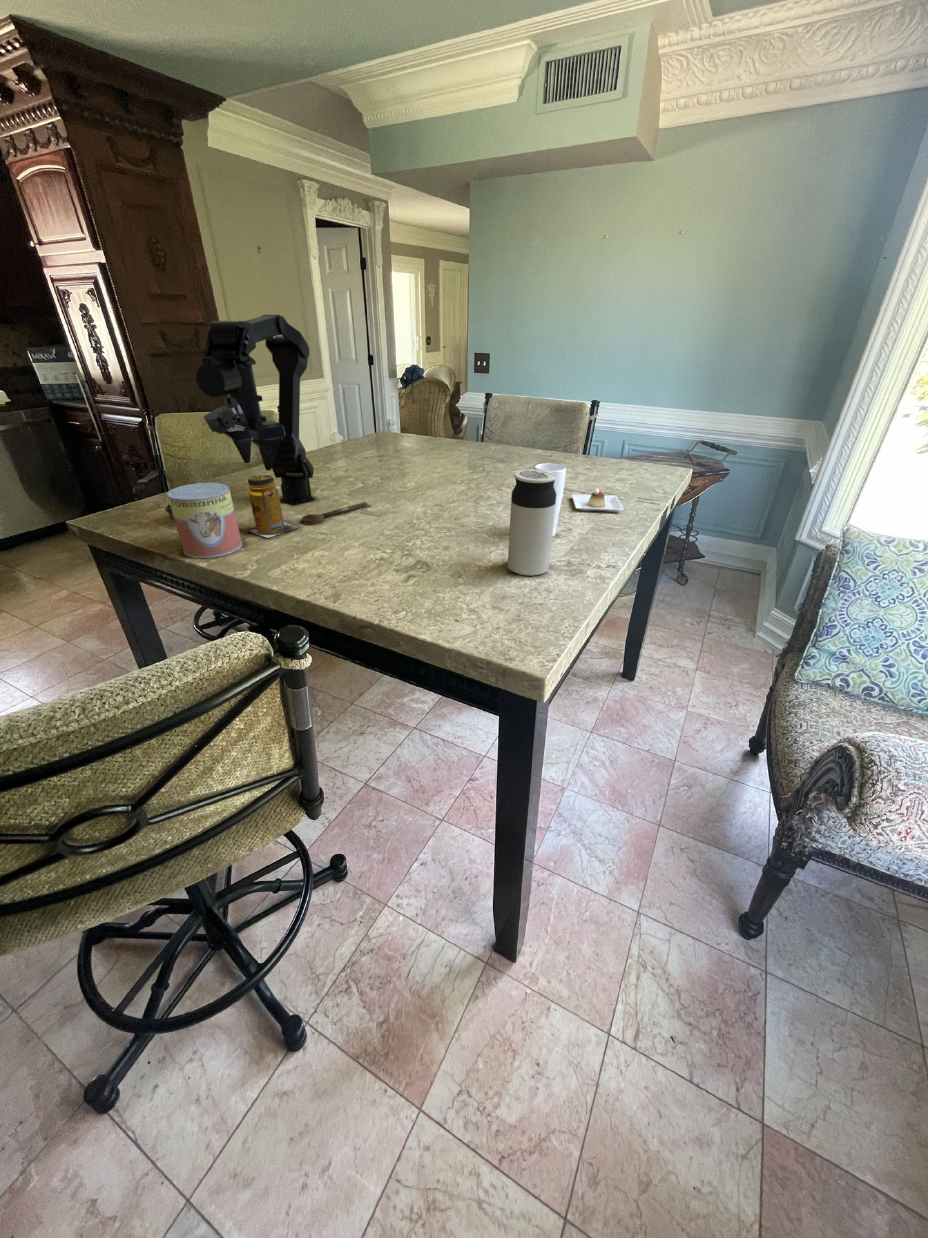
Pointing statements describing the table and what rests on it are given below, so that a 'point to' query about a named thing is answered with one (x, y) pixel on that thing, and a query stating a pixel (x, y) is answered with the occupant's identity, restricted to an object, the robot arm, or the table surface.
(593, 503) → the dessert
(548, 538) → the travel mug
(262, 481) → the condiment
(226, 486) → the canned food
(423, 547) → the table surface
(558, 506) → the drinking glass
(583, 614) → the table surface
